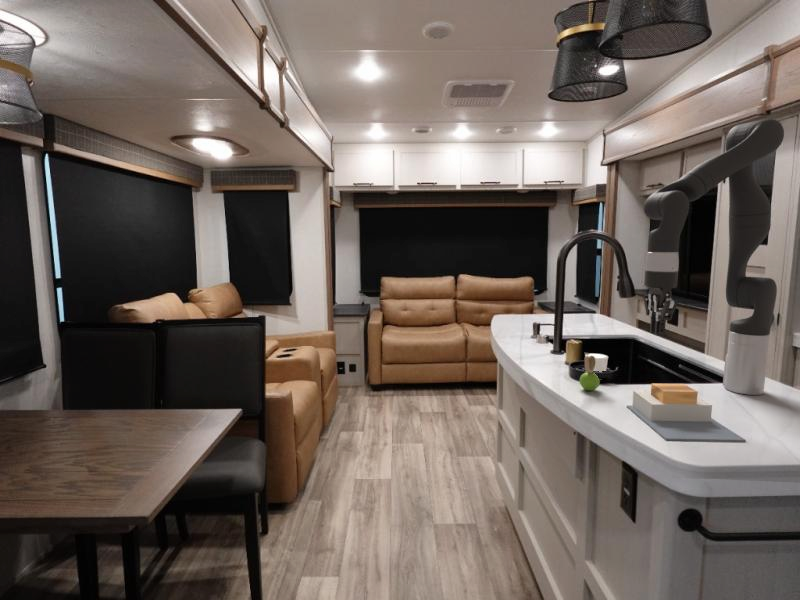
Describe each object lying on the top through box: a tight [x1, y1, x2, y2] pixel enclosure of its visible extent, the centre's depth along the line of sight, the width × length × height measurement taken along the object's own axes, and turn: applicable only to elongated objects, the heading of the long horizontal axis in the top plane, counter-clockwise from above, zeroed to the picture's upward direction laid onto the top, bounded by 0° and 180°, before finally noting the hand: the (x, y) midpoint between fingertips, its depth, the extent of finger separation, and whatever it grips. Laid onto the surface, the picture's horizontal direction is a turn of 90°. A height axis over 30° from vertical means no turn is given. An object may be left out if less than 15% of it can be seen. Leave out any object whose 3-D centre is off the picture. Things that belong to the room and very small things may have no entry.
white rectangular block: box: [632, 390, 713, 422], centre depth 114 cm, size 10×14×4 cm
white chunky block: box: [584, 352, 609, 372], centre depth 146 cm, size 7×7×7 cm
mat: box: [626, 405, 747, 443], centre depth 109 cm, size 20×17×1 cm
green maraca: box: [579, 352, 601, 392], centre depth 132 cm, size 5×6×12 cm
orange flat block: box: [650, 383, 699, 404], centre depth 112 cm, size 6×8×3 cm
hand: (657, 333), depth 121 cm, fingers closed
